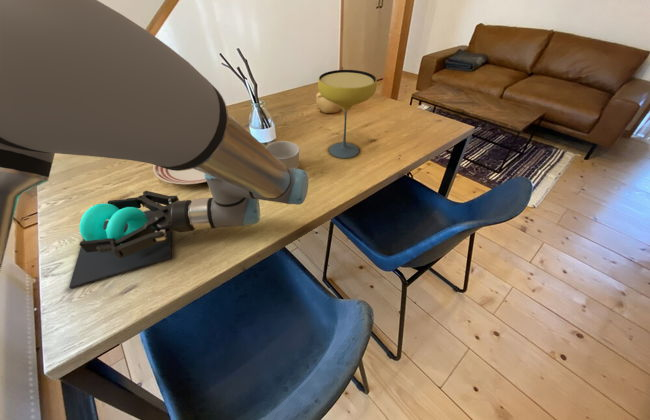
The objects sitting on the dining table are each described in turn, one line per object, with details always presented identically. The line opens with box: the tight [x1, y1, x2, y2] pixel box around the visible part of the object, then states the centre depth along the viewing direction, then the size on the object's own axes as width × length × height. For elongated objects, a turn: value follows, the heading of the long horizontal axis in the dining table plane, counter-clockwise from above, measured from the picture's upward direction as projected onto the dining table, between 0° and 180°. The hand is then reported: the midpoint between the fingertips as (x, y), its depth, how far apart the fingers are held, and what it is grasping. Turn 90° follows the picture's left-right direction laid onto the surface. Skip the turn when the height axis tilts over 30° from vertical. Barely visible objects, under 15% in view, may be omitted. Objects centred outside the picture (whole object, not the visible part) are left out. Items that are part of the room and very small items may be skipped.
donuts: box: [79, 202, 148, 241], centre depth 65 cm, size 10×10×10 cm
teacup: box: [264, 140, 300, 169], centre depth 88 cm, size 14×11×8 cm
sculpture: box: [315, 91, 342, 114], centre depth 124 cm, size 11×12×11 cm
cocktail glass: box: [317, 69, 378, 159], centre depth 92 cm, size 18×18×25 cm
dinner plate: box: [152, 164, 207, 185], centre depth 92 cm, size 28×27×3 cm
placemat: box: [68, 209, 172, 289], centre depth 68 cm, size 20×20×1 cm
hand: (98, 224), depth 64 cm, fingers open, 13 cm apart
